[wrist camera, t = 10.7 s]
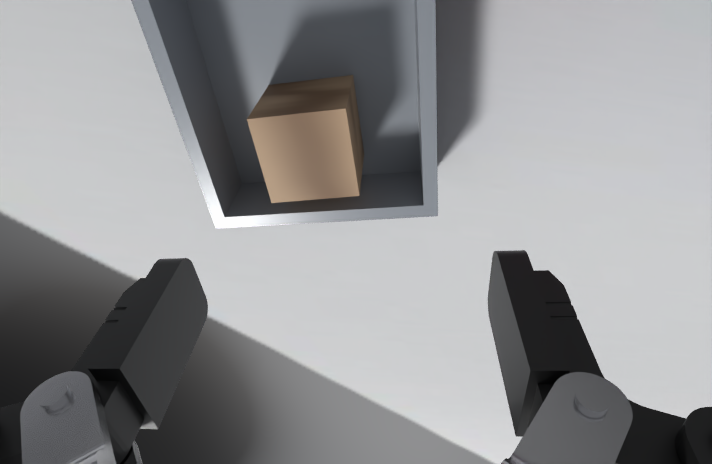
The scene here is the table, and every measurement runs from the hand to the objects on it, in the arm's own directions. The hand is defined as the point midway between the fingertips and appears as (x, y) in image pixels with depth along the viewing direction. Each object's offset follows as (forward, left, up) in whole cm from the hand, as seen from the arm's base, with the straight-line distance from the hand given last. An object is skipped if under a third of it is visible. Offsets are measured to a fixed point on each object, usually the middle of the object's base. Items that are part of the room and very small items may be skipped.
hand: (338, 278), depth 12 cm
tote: (-3, +1, -18) cm, 18 cm away
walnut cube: (-3, -3, -17) cm, 18 cm away
